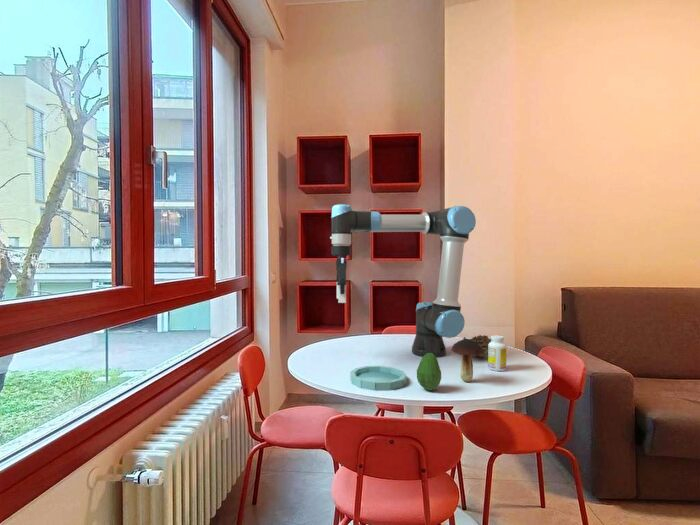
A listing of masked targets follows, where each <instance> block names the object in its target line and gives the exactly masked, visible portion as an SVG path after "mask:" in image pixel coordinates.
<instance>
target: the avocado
mask: <svg viewBox="0 0 700 525" xmlns="http://www.w3.org/2000/svg"><path fill="white" fill-rule="evenodd" d="M437 358H438V357H436V356H435V355H434V354H432V353H428V354H426V355H424V356H422V357H421V360H420V361H419V363H418V366H417V369H416V379H417V382H418V384H419V385H420V386H421V387H422V388H424V390H426V391H435V390H436V389H437V388H438V387H439V385H440V384H441V380H442V370H441V367H440V364H439V362H438V359H437Z"/></svg>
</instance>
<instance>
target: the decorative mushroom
mask: <svg viewBox="0 0 700 525" xmlns="http://www.w3.org/2000/svg"><path fill="white" fill-rule="evenodd" d="M470 339H471V338H466V339H464V338H463V339H461V340H458V341H457V342H455V343H453V345H452V346H451V348H450V351H451V352H452V353H455V354H457V355H462V357H461V360H460V361H461V362H460V372H459V374H460V375H459V376H460V379H461V380H462V381H463V382H465V383H469V382H471V381H472V380H473V379H474V378H473V377H474V368H473V367H474V365H473V358H472V357H473V356H476V355H478V354H480V353H483V349H482V348H481V346H480V345H478V344H477V343H476V342H474V341H472V340H470Z"/></svg>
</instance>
